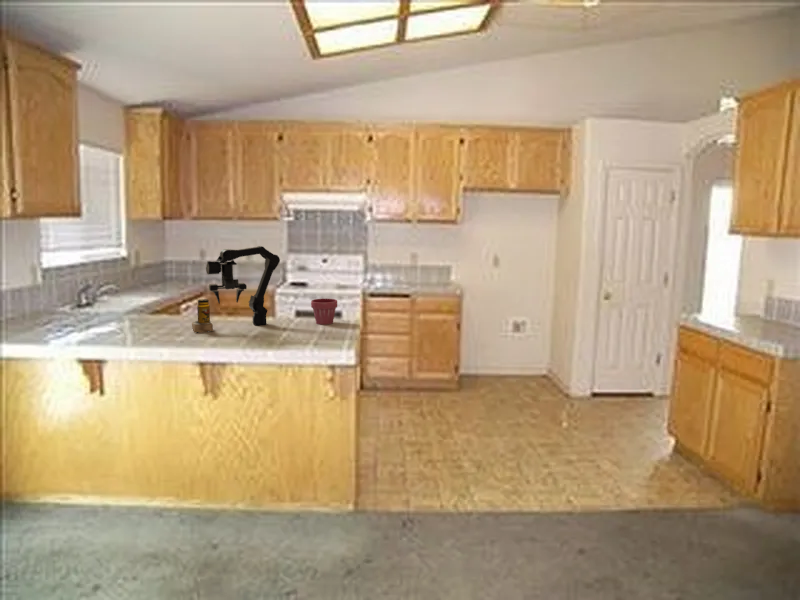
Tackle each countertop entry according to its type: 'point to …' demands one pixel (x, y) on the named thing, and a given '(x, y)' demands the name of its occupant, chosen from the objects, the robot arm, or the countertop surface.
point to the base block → (202, 327)
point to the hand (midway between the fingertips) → (228, 303)
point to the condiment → (203, 312)
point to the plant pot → (324, 310)
